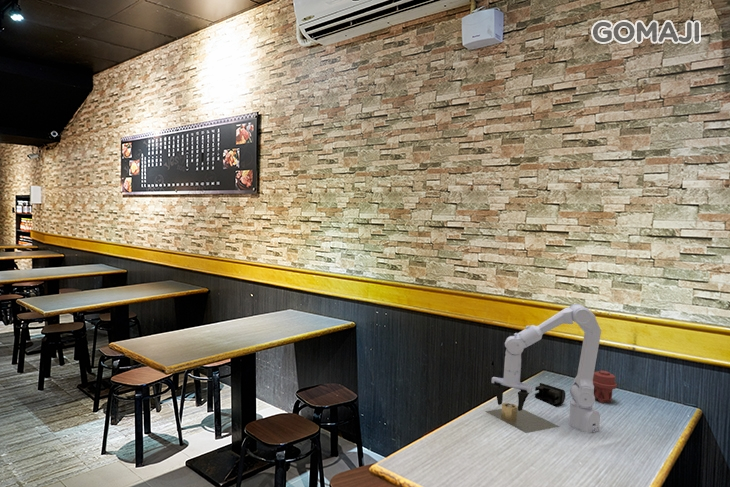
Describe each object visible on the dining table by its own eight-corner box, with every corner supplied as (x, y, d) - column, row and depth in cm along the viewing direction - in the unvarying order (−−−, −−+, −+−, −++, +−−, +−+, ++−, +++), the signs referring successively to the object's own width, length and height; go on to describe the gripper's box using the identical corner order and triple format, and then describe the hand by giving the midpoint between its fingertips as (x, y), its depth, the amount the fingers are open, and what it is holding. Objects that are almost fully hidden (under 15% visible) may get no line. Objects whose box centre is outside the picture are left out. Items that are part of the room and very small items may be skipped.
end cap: (565, 405, 196) (566, 388, 196) (556, 408, 192) (557, 391, 192) (542, 397, 204) (543, 381, 204) (533, 400, 199) (534, 384, 199)
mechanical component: (604, 406, 198) (584, 397, 207) (620, 403, 202) (600, 395, 211) (606, 376, 197) (586, 369, 206) (623, 374, 202) (602, 367, 211)
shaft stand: (559, 430, 169) (560, 415, 169) (525, 437, 162) (527, 421, 162) (516, 410, 187) (517, 396, 187) (484, 415, 179) (486, 400, 179)
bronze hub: (519, 418, 174) (520, 407, 174) (507, 420, 172) (508, 408, 172) (510, 413, 179) (511, 402, 179) (498, 414, 177) (499, 403, 177)
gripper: (536, 372, 173) (533, 410, 174) (498, 363, 183) (496, 399, 183) (528, 376, 168) (526, 415, 168) (489, 366, 177) (487, 403, 178)
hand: (509, 407), depth 175 cm, fingers open, 7 cm apart
